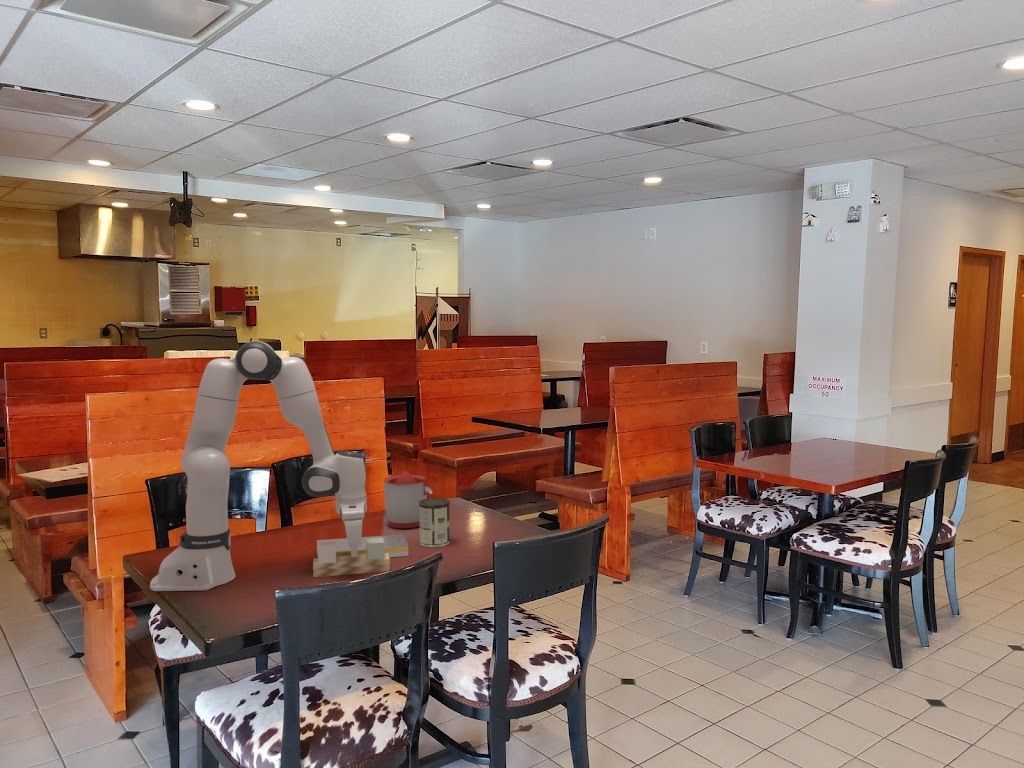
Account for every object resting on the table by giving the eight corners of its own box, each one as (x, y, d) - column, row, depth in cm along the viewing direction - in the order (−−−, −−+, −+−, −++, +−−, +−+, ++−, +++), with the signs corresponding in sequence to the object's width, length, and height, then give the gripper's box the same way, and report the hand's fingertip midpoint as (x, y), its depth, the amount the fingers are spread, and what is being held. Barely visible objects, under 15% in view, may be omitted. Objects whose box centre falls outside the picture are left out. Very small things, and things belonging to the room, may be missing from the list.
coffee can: (431, 536, 262) (430, 496, 261) (455, 541, 257) (455, 500, 256) (412, 544, 254) (412, 502, 252) (437, 549, 248) (437, 506, 247)
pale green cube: (367, 560, 226) (367, 543, 225) (366, 555, 231) (366, 538, 230) (384, 558, 227) (384, 542, 226) (383, 553, 232) (383, 537, 231)
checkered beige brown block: (313, 578, 222) (313, 564, 221) (313, 571, 228) (313, 558, 227) (389, 572, 227) (389, 559, 227) (388, 565, 233) (387, 552, 233)
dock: (317, 563, 234) (316, 553, 234) (317, 549, 248) (317, 540, 248) (408, 556, 241) (408, 546, 241) (403, 543, 255) (403, 534, 255)
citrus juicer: (429, 531, 269) (428, 475, 267) (380, 530, 270) (379, 475, 268) (435, 519, 285) (434, 466, 283) (388, 519, 285) (387, 466, 283)
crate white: (318, 563, 222) (317, 547, 222) (318, 558, 227) (318, 542, 227) (335, 562, 223) (335, 545, 223) (335, 557, 228) (335, 540, 228)
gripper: (339, 498, 235) (341, 542, 237) (342, 515, 216) (344, 563, 217) (360, 496, 237) (361, 540, 238) (364, 513, 217) (366, 560, 219)
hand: (353, 551), depth 227 cm, fingers open, 8 cm apart
